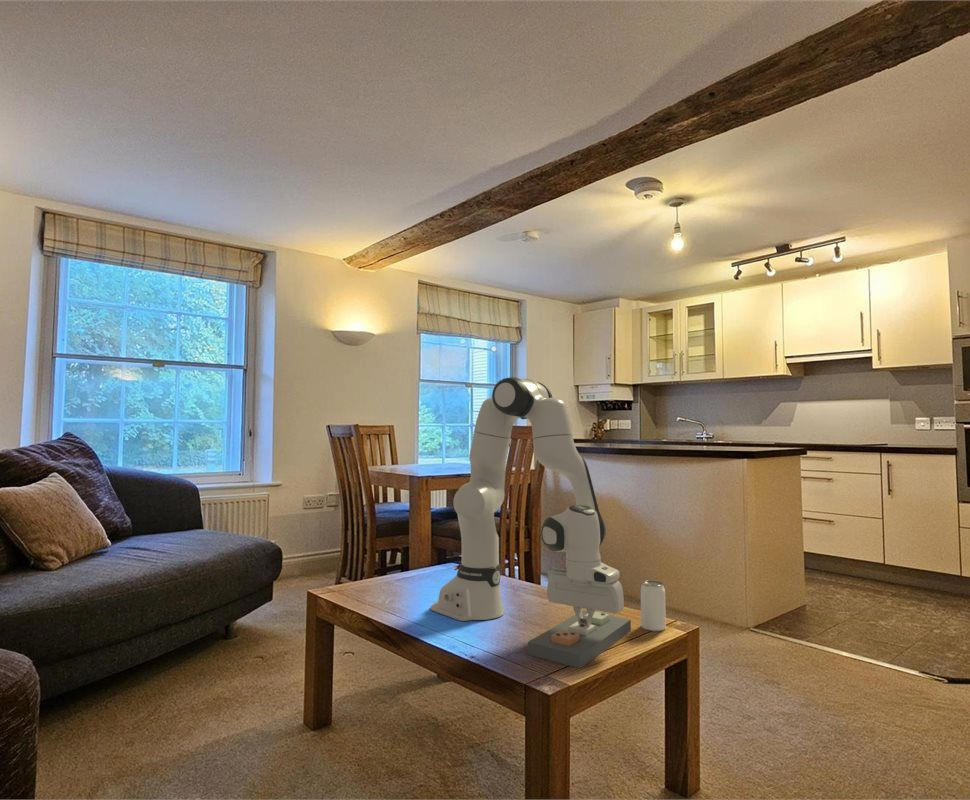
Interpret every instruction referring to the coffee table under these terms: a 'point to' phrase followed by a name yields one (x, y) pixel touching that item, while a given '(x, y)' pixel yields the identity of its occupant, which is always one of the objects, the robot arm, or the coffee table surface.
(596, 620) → the two dot button
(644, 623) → the can
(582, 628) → the one dot button
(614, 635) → the button board
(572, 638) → the three dot button
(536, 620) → the coffee table surface
